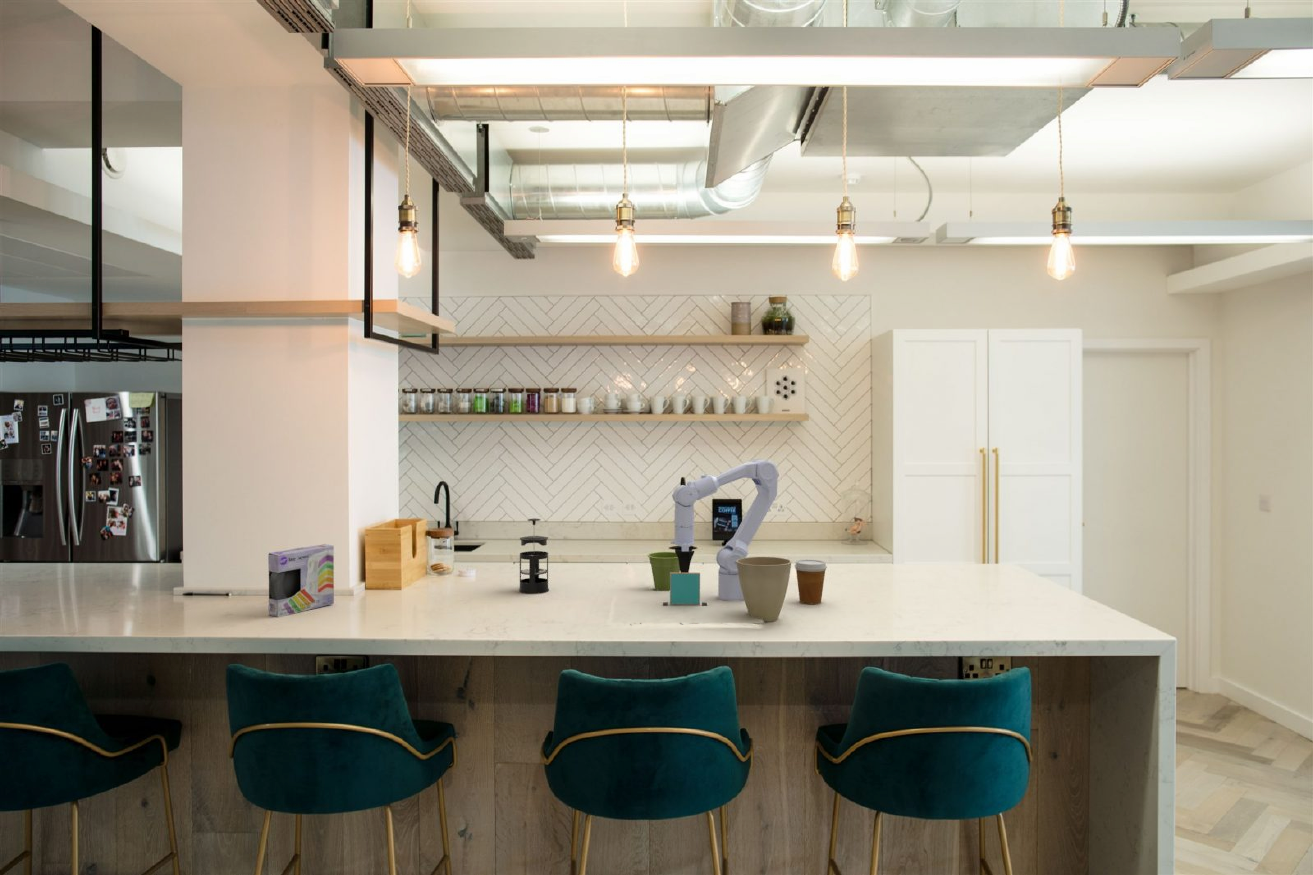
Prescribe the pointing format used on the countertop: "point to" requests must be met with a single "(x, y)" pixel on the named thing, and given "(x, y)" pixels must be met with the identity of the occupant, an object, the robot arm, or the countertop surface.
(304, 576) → the cake pan box
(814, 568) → the disposable coffee cup
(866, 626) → the countertop surface
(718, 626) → the countertop surface
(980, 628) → the countertop surface
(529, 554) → the french press
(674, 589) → the tile
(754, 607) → the plant pot
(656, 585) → the plant pot
